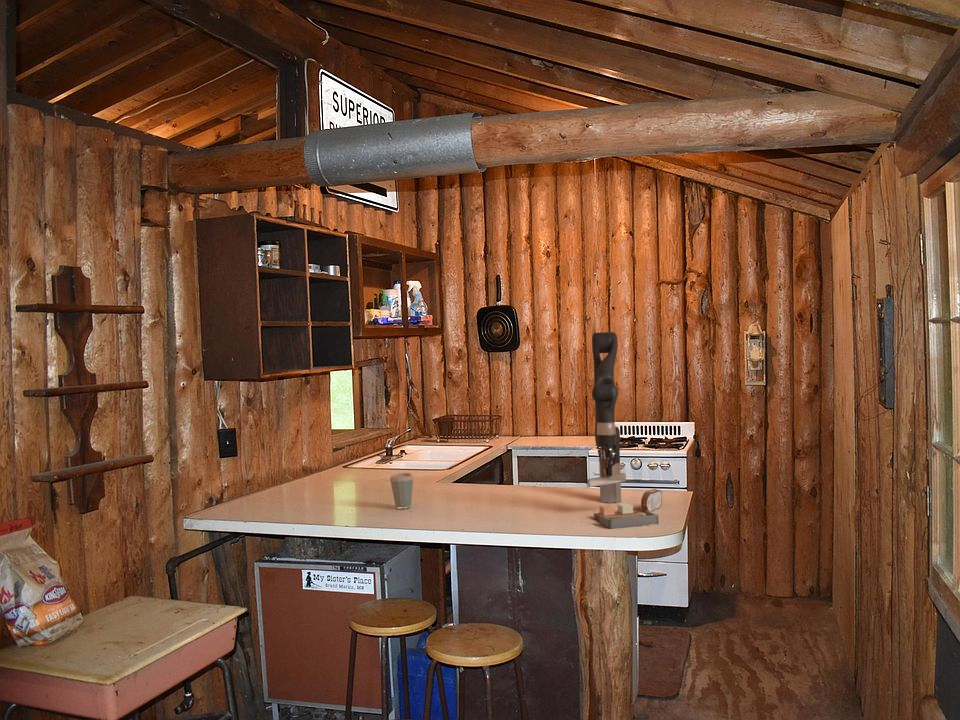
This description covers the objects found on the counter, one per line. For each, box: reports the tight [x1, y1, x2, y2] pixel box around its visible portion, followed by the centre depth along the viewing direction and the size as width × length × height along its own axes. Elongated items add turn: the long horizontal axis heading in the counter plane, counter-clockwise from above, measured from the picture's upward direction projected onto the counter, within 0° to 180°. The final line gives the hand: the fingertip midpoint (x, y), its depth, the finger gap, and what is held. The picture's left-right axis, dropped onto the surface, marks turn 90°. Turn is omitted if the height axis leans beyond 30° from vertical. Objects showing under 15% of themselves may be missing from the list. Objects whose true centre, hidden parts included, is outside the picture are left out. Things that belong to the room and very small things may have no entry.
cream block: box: [617, 502, 634, 514], centre depth 309 cm, size 4×4×3 cm
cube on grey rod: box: [587, 459, 627, 488], centre depth 315 cm, size 3×16×10 cm, turn 105°
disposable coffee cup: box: [389, 472, 414, 508], centre depth 340 cm, size 11×11×15 cm
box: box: [599, 511, 659, 530], centre depth 297 cm, size 9×20×4 cm, turn 105°
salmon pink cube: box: [598, 504, 615, 516], centre depth 307 cm, size 4×4×3 cm
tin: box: [640, 488, 663, 512], centre depth 320 cm, size 15×3×8 cm, turn 141°
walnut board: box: [593, 509, 645, 522], centre depth 306 cm, size 10×17×2 cm, turn 105°
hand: (607, 475), depth 315 cm, fingers closed on cube on grey rod, 3 cm apart
